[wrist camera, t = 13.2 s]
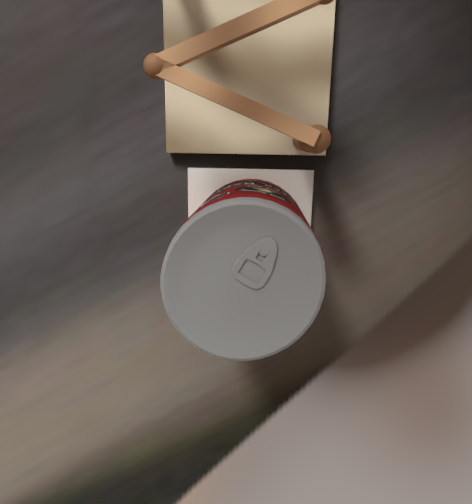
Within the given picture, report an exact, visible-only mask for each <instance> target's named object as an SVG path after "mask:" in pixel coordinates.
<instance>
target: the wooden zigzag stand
mask: <svg viewBox="0 0 472 504" xmlns="http://www.w3.org/2000/svg"><path fill="white" fill-rule="evenodd" d="M335 5H336V0H163V22H164V51H161V52H159V53H151V54H149V55H148V56H146V58H145V60H144V63H143V68H144V71H145V73H146V74H147V75H148V76H149V77H150V78H152V79H161V78H162V79H164V80H165V108H166V151H167V153H214V154H270V155H326V149H327V148H328V147H329V145H330V142H331V134H330V132H329V130H328V129H327V128H328V113H329V97H330V82H331V67H332V51H333V36H334V20H335Z"/></svg>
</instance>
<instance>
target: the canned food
mask: <svg viewBox="0 0 472 504" xmlns="http://www.w3.org/2000/svg"><path fill="white" fill-rule="evenodd" d="M325 285H326V272H325V261H324V257H323V254H322V250H321V247H320V244H319V242H318V240H317V238H316V236H315V234H314V232H313V231H312V229H311V227H310V225H309V223H308V222H307V220H306V218H305V217H304V215H303V213H302V211H301V210H300V208H299V206H298V205H297V203H296V201H295V200H294V199H293V198H292V197H291V196H290V194H289V193H287V192H286V191H285V190H284V189H282V188H281V187H280V186H277V185H275V184H273V183H271V182H268V181H264V180H260V179H243V180H237V181H234V182H231V183H229V184H226V185H224V186H222V187H221V188H219V189H218V190H216V191H215V192H214V193H213V194H212V195H210V196H209V197H208V198H207V199H206V200H205V201H204V202H203V204H202V205H201V206H200V207H199V208H198V209H197V210H196V211H195V212H194V213H193V214H192V215H191V216H190V217H189V218H188V219H187V220H186V221H185V222H184V224H183V225H182V226H181V228H180V229H179V230H178V232H177V233H176V235H175V236H174V238H173V239H172V241H171V243H170V245H169V248H168V250H167V252H166V254H165V257H164V261H163V266H162V270H161V294H162V300H163V305H164V307H165V310H166V312H167V315H168V317H169V319H170V321H171V322H172V324H173V325H174V327H175V329H176V330H177V331H178V333H179V334H180V335H181V336H182V337H183V338H184V339H185V340H186V341H187V342H188V343H190V344H191V345H193V346H194V347H196V348H197V349H199V350H200V351H202V352H204V353H207V354H209V355H211V356H213V357H217V358H221V359H225V360H229V361H250V360H257V359H262V358H265V357H268V356H271V355H274V354H276V353H278V352H280V351H282V350H284V349H286V348H288V347H289V346H290V345H292V344H293V343H294V342H295V341H297V340H298V339H299V338H300V337H301V336H302V335H303V334H304V333H305V332H306V331H307V329H308V328H309V327H310V326H311V325H312V323H313V321H314V319H315V318H316V316H317V314H318V312H319V310H320V307H321V304H322V301H323V298H324V294H325Z"/></svg>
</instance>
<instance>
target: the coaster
mask: <svg viewBox="0 0 472 504" xmlns="http://www.w3.org/2000/svg"><path fill="white" fill-rule="evenodd" d="M243 179H260V180H264V181H268V182H271V183H273V184H275V185H277V186H280V187H281V188H282V189H284V190H285V191H286V192H287V193H289V194H290V196H291V197H292V198H293V199H294V200H295V201H296V203H297V205H298V206H299V208H300V210H301V211H302V213H303V215H304V217H305V218H306V220H307V222H308V223H309V225H310V227H311V214H312V197H313V180H314V170H296V169H245V168H194V167H189V168H188V218H189V217H190V216H191V215H192V214H193V213H194V212H195V211H196V210H197V209H198V208H199V207H200V206H201V205H202V204H203V202H204V201H205V200H206V199H207V198H208V197H209V196H210V195H212V194H213V193H214V192H215V191H216V190H218V189H219V188H221V187H222V186H224V185H226V184H229V183H231V182H234V181H237V180H243Z"/></svg>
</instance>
